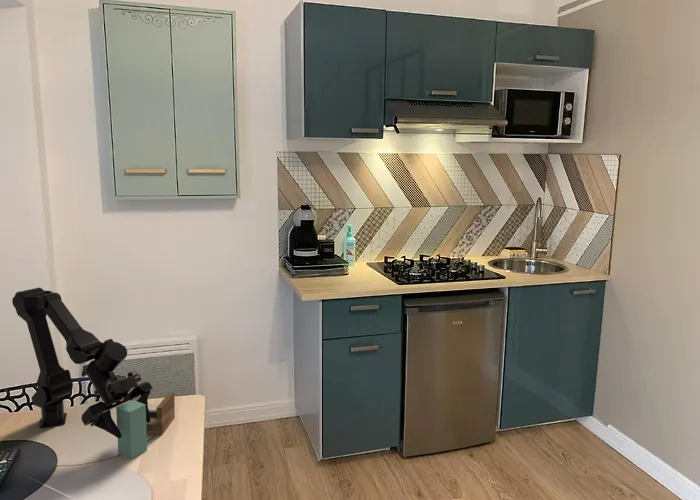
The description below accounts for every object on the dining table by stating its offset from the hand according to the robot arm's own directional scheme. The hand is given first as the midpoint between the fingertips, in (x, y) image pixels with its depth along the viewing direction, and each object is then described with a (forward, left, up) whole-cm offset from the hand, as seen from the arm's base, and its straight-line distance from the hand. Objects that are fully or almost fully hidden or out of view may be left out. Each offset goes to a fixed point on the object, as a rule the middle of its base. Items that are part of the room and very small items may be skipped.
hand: (135, 429), depth 141 cm
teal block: (-1, -1, -7) cm, 7 cm away
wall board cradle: (-14, +5, -7) cm, 16 cm away
